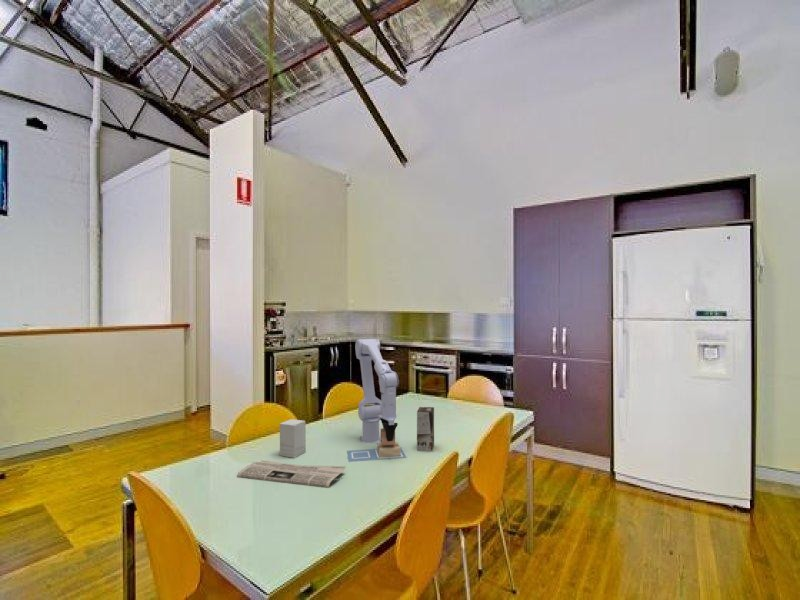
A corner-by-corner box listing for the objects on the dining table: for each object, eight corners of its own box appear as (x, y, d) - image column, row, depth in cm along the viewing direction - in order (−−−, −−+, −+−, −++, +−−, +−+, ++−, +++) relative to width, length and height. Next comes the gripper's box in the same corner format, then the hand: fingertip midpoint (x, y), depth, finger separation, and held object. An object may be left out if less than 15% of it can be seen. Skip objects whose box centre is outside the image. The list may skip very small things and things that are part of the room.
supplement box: (306, 452, 164) (306, 420, 165) (294, 458, 158) (294, 425, 158) (291, 449, 168) (291, 418, 168) (279, 455, 161) (279, 423, 161)
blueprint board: (346, 452, 165) (346, 450, 165) (400, 448, 169) (400, 447, 169) (348, 463, 153) (348, 461, 153) (406, 459, 157) (406, 457, 157)
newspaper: (237, 478, 141) (237, 468, 141) (258, 465, 153) (258, 455, 153) (333, 490, 132) (333, 478, 132) (347, 474, 144) (347, 464, 144)
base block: (377, 450, 165) (377, 442, 165) (396, 449, 166) (396, 441, 166) (379, 457, 157) (379, 449, 157) (400, 456, 158) (400, 448, 158)
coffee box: (432, 453, 163) (432, 412, 164) (416, 452, 164) (416, 411, 165) (434, 445, 172) (434, 406, 173) (419, 444, 173) (419, 406, 174)
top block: (380, 441, 164) (380, 428, 164) (393, 440, 164) (393, 427, 165) (382, 445, 159) (382, 432, 159) (395, 444, 160) (395, 431, 160)
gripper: (376, 400, 168) (376, 433, 168) (381, 408, 154) (381, 445, 154) (393, 399, 170) (393, 432, 169) (399, 407, 155) (399, 444, 155)
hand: (388, 438), depth 162 cm, fingers closed on top block, 5 cm apart
